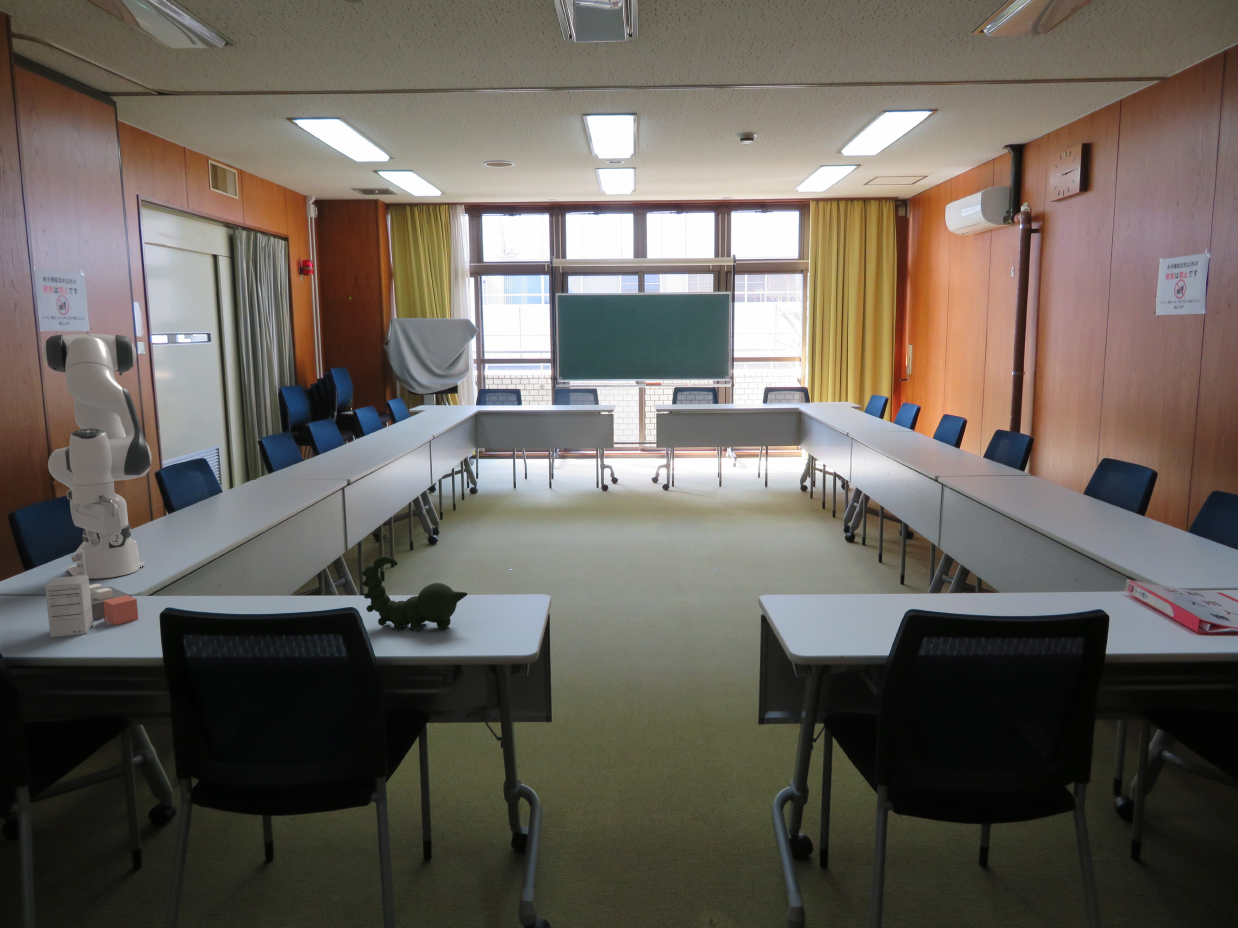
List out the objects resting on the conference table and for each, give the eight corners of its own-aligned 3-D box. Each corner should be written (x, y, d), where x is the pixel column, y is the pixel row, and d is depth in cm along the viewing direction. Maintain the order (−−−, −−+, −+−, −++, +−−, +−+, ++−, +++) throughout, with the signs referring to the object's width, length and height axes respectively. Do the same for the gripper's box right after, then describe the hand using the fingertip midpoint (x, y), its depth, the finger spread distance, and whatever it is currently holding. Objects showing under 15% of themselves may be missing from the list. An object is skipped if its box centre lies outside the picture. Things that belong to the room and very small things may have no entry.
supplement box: (58, 627, 193) (53, 577, 192) (94, 624, 196) (89, 574, 194) (49, 637, 187) (43, 585, 185) (86, 633, 189) (81, 582, 187)
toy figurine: (364, 639, 190) (465, 633, 188) (353, 562, 188) (456, 555, 185) (379, 625, 200) (476, 620, 197) (369, 552, 197) (467, 545, 194)
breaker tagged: (95, 605, 204) (94, 590, 203) (108, 602, 206) (107, 587, 206) (100, 607, 202) (99, 592, 202) (113, 604, 204) (112, 589, 204)
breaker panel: (68, 610, 206) (66, 594, 205) (110, 600, 214) (109, 585, 213) (89, 620, 198) (87, 603, 198) (132, 610, 206) (131, 593, 206)
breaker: (85, 601, 207) (84, 586, 207) (98, 598, 210) (97, 583, 209) (90, 603, 206) (89, 588, 205) (103, 600, 208) (102, 585, 207)
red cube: (105, 620, 198) (103, 600, 198) (128, 614, 203) (126, 595, 202) (114, 625, 195) (112, 604, 194) (138, 619, 199) (136, 599, 199)
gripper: (126, 496, 197) (131, 551, 198) (91, 488, 208) (96, 539, 210) (97, 500, 191) (103, 556, 193) (63, 491, 203) (68, 544, 205)
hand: (99, 547), depth 202 cm, fingers open, 4 cm apart
